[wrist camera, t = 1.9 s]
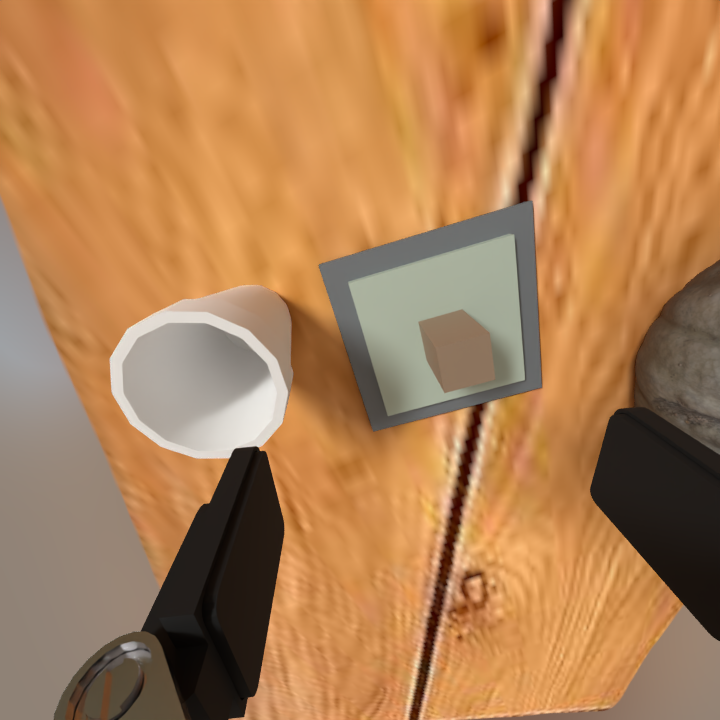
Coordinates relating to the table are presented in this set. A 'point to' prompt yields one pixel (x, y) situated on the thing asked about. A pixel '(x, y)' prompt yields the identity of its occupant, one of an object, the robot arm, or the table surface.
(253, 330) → the foam cup
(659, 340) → the gourd
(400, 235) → the table surface
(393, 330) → the lid
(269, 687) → the table surface
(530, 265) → the mat
